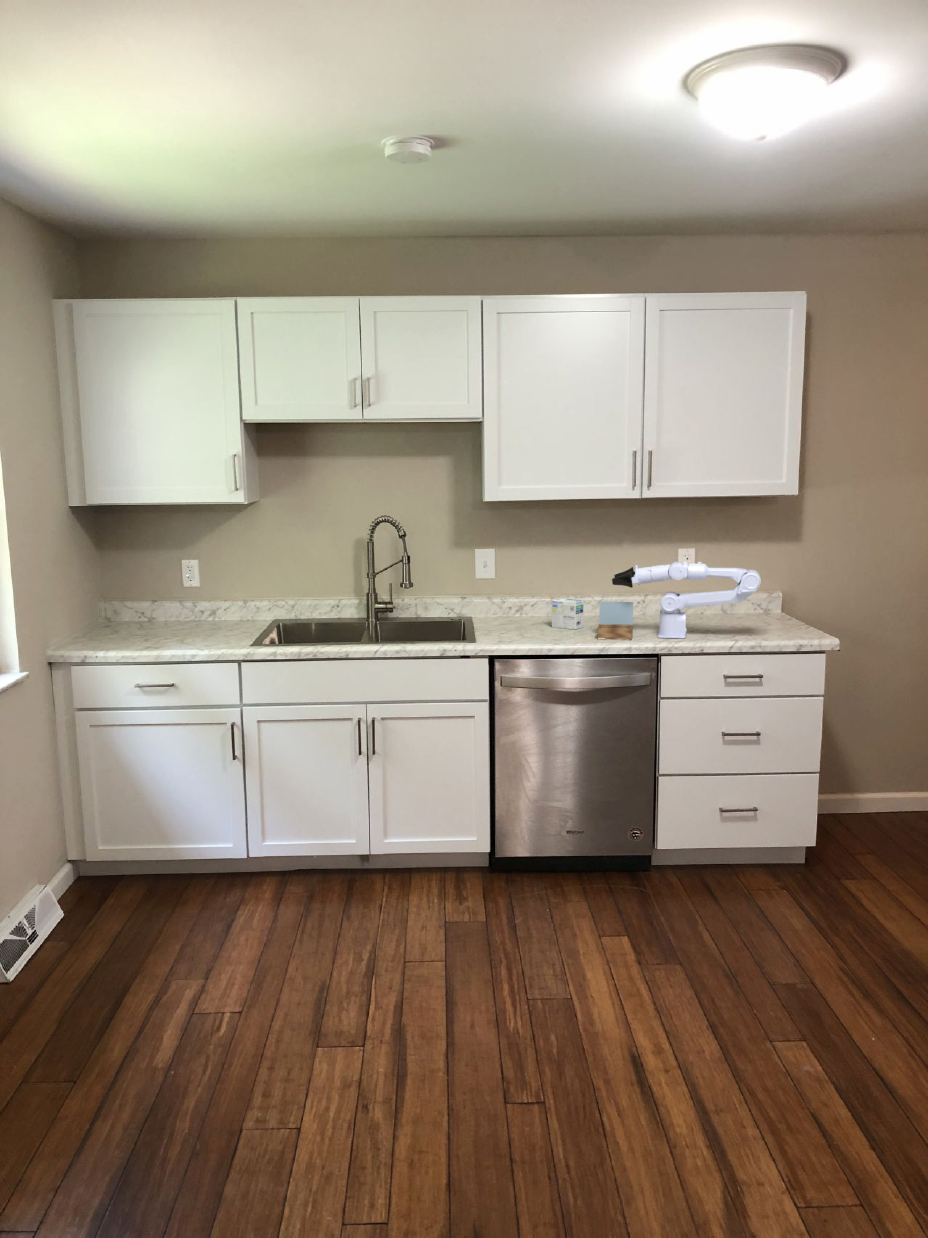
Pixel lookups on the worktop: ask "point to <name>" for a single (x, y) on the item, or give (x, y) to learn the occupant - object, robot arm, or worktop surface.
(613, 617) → the lid
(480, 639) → the worktop surface
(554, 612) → the light bulb box
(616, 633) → the crate
